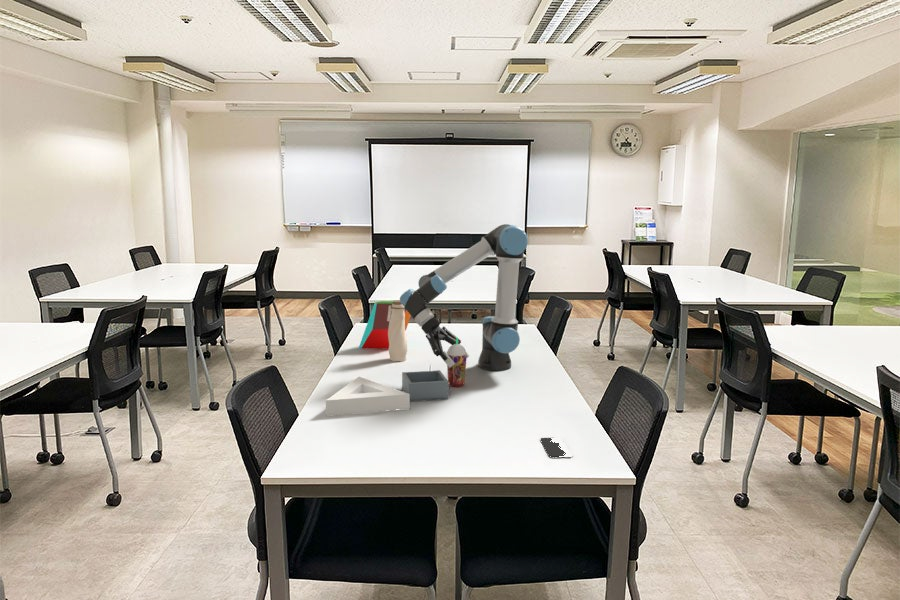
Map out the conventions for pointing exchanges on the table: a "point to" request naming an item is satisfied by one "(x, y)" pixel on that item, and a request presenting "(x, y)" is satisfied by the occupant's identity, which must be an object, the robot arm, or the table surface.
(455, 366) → the smoothie
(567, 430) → the table surface
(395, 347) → the water bottle
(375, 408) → the triangle block
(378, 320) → the gem
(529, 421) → the table surface
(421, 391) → the tray
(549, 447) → the phone
